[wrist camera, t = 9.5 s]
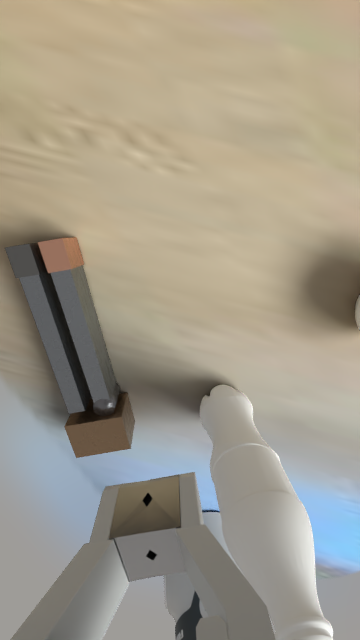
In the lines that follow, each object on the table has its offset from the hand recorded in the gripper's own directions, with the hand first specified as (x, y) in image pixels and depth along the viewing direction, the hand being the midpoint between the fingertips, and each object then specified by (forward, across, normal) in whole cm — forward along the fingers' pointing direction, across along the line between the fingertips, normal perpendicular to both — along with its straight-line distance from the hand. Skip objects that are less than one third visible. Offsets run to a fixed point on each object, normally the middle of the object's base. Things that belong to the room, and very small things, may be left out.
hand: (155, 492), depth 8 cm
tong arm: (+24, +9, +1) cm, 26 cm away
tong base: (+24, +11, +3) cm, 27 cm away
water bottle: (+25, -6, +15) cm, 30 cm away
